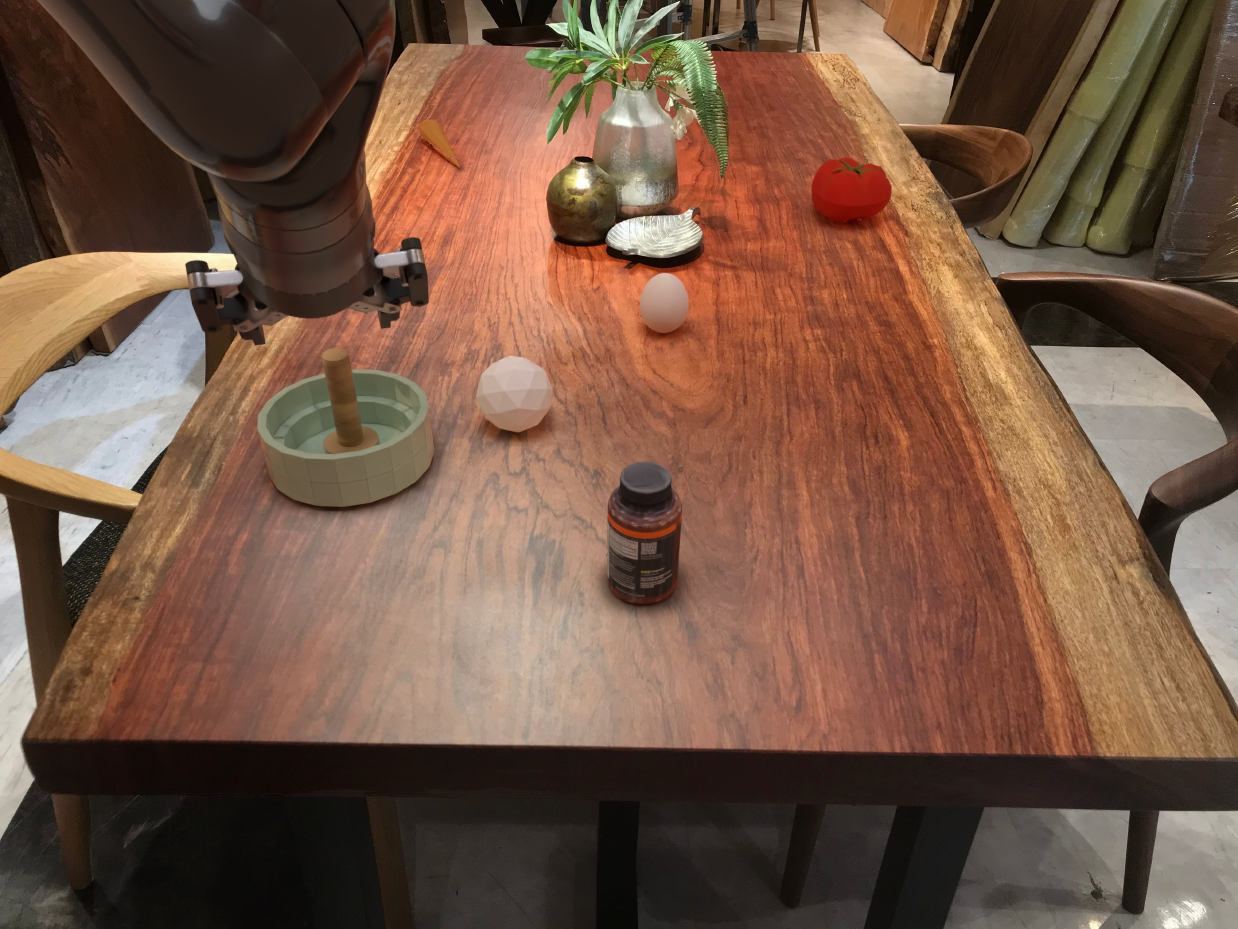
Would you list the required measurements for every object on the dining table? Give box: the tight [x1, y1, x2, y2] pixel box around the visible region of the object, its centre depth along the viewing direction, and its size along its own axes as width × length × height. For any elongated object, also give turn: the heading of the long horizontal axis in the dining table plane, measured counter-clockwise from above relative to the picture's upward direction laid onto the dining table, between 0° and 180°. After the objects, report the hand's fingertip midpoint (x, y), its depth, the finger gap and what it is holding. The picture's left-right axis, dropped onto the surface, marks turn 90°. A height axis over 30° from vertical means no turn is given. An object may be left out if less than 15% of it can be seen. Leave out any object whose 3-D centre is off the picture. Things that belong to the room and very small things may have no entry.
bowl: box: [256, 368, 435, 508], centre depth 86 cm, size 16×16×6 cm
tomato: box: [810, 157, 893, 223], centre depth 143 cm, size 14×13×9 cm
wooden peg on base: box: [320, 347, 380, 454], centre depth 84 cm, size 5×5×12 cm
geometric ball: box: [475, 355, 554, 433], centre depth 92 cm, size 8×8×8 cm
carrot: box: [418, 118, 461, 169], centre depth 166 cm, size 20×4×4 cm, turn 26°
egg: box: [639, 272, 690, 334], centre depth 110 cm, size 6×6×8 cm
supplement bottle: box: [606, 461, 683, 605], centre depth 72 cm, size 6×6×11 cm
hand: (321, 323), depth 63 cm, fingers open, 8 cm apart
